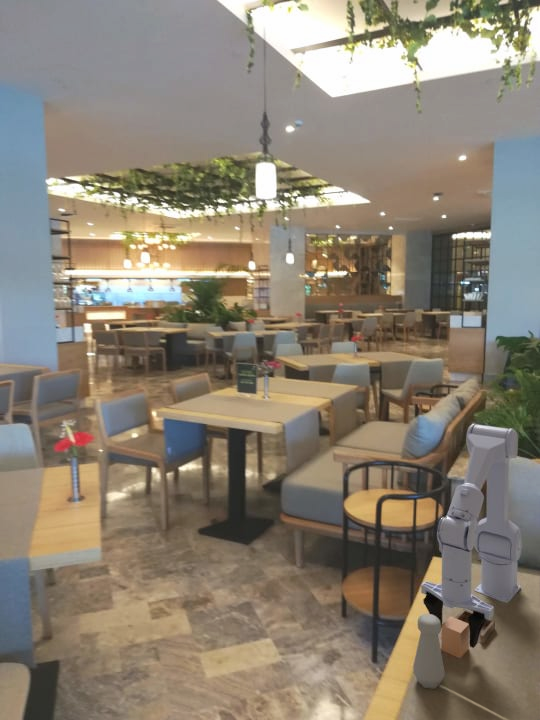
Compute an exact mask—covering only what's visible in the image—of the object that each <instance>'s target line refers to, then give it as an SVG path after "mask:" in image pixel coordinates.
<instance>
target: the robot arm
mask: <svg viewBox="0 0 540 720" xmlns="http://www.w3.org/2000/svg"><path fill="white" fill-rule="evenodd" d="M518 436H519V435H518V433H517V431H516V430H515V429H514V428H512V427H511V428H506V427H500V426H499V427H498V426H492V425H491V426H490V425H486V424H485V425H483V424H477V423H471V425H469V426H468V428H467V431H466V437H465V445H466V446H467V451H468V454H469V455H470V456H469V458H468V459H469V460H468V462H467V463H468V464H467V468H466V473H465V476H464V482H463V484H460V485H458V486H457V487H456V488H455V490H454V494H453V496H452V500H451V503H450V506H449V509H448V511H447V514H446V516H442V517H441V519H440V520H439V522H438V525H437V533H436V538H437V542H438V545H439V546H438V548H439V549H438V550H439V552H440V553H441V584H440V583H434V582H430V581H427V580H424V581H423V583H422V584H421V585H420V589H421V590H420V592H421V594H423V595H425V597H424V598H423V600H422V602H423V605H424V607H425V608H426V609H427V612H428V614H432V615H434V616H436V617H437V618H438V619H439V620H440V623H441V629H442V624H443V610H444V609H443V607H444V606H445V607H447V608H449V609H453V608H458V609H459V608H460V609H462V610H463V609H465V610H468V611H470V612H473V614H471V615H470V616H469V617H468V623H469V628H470V638H469V648H473V649H474V648H475V647H476V646H477V645H478V643H479V642H478V638H479V634H480V632H481V629H482V627H483V625H484V623H485V621H486V620H487V619H488V620H492V618H493V617H494V611H495V610H494V606H493V605H491V604H488V603H486V602H485V601H483V600H481V599H480V598H478V597H477V596H475V595H474V594H473V593H472V567H473V566H472V564H473V563H472V561H473V560H472V559H473V557H472V556H473V555H472V554H473V549H474V548H475V550H476V552H478V553H479V555H478V556H479V557H481V563H480V564H481V567H480V568H481V569H480V570H481V572H480V573H481V574H480V577H481V578H480V583H479V584H478V586H476V587H475V588H474V592H476V593H479V594H481V595H484V596H487V597H489V598H490V599H491V598H492V599H494V600H497V601H500V602H503V603H505V604H509V602H510V601H511V600H512V598H513V597H514V596H516V594H517V593H518V592H519V590H521V588H522V586H521V584H518V566H519V565H518V561H519V560H520V557H521V555H522V550H523V541H522V535H521V534H522V533H521V529H520V527H519V526H517V525H516V524H515V523H513V521H512V520H510V519H509V471H510V470H509V468H510V467H509V464H510V459H516V458H517V456H518V453H519V452H518V451H519V450H518V447H519V445H518V443H519V442H518V441H519V438H518ZM485 481H486V517H484V518H482V519H480V520H479V521H478V519H479V516H480V512H481V509H482V506H483V503H484V499H485V495H484V493H483V492H482V491H481V490H482V488H483V486H484V484H485Z"/></svg>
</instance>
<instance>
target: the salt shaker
mask: <svg viewBox="0 0 540 720" xmlns="http://www.w3.org/2000/svg"><path fill="white" fill-rule="evenodd" d="M417 629H418V631H420V634H419V638H418V643H417V647H416V648H417V649H416V652H415V655H414V661H413V665H412V667H413V668H412V669H413V674H414V676H415V678H416V681H417V682H418V684H420V685H421V686H422V687H423V688H425V689H431V690H436V688H437V687H439V686H440V685H441V684H442V681H444V680H443V679H444V678H445V675H446V672H445V667H444V661H443V656H442V650H441V649H442V647H441V643H440V637H439V635H440V633H441V632H442V628H441V623H440V620H439V619H438V618H437V617H436V616H434V615H432V614H429V613H423V614H421V615H420V616H419V617H418V618H417Z"/></svg>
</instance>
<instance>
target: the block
mask: <svg viewBox="0 0 540 720" xmlns="http://www.w3.org/2000/svg"><path fill="white" fill-rule="evenodd" d="M469 648H470V638H469V624H468V623H466V622H463V621H461V620H459V619H456V618H455V617H454V616H451V615H450V616H449V617H448V618H447V619H446V620H445V621H444V622H442V628H441V651H443V652H446V653H447V654H450V655H451V656H453V657H456V658H457V659H462V658H463V657H464V655H465V654H466V652H467V651H469Z"/></svg>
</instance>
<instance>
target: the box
mask: <svg viewBox="0 0 540 720" xmlns="http://www.w3.org/2000/svg"><path fill="white" fill-rule="evenodd" d="M471 614H473V611H470V610H468V609H463V608H462V610H461V611H460V612H459V613H458V614H457V615H456V616H455V617H454V618H456V619H459V620H461V621H463V622H466V623H468V617H469V616H470V615H471ZM468 624H469V623H468ZM495 627H496V621H495V620H492V619H490V620H488V619H487V620H486V621H485V623H484V625H483V627H482V629H481V632H480V634H479V638H478V642H477V643H480V644H484V643H485V642H486V641H487V639H488V638H489V637H490V636H491V635H492V633H493V632H494V631H495ZM469 639H470V628H469Z"/></svg>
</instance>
